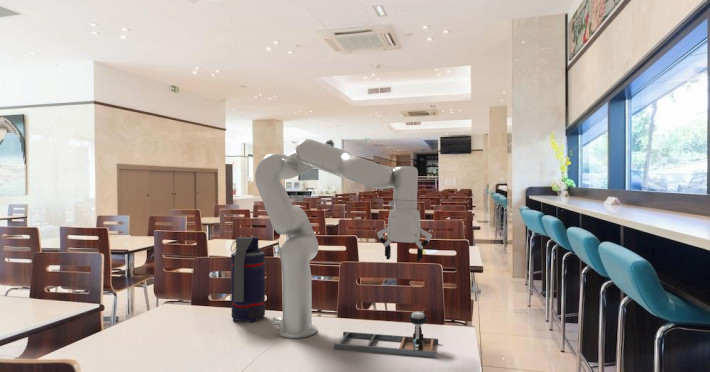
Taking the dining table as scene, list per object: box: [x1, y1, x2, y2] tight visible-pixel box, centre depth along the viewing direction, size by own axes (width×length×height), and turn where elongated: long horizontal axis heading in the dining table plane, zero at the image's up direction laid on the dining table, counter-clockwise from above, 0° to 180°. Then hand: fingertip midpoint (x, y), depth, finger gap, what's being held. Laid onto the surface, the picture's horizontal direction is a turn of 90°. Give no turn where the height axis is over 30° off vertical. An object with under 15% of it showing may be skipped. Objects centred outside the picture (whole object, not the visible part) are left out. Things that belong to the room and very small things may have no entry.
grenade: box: [230, 236, 266, 324], centre depth 159 cm, size 14×12×30 cm
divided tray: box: [333, 331, 439, 359], centre depth 131 cm, size 30×11×2 cm, turn 76°
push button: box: [408, 311, 428, 350], centre depth 129 cm, size 7×5×10 cm
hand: (403, 259), depth 137 cm, fingers open, 9 cm apart
